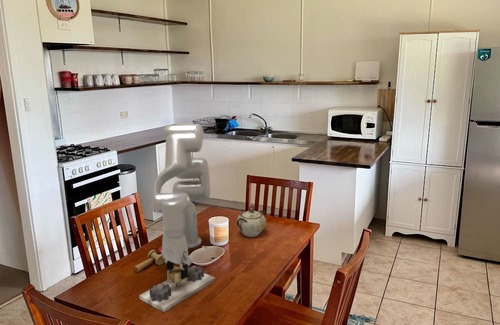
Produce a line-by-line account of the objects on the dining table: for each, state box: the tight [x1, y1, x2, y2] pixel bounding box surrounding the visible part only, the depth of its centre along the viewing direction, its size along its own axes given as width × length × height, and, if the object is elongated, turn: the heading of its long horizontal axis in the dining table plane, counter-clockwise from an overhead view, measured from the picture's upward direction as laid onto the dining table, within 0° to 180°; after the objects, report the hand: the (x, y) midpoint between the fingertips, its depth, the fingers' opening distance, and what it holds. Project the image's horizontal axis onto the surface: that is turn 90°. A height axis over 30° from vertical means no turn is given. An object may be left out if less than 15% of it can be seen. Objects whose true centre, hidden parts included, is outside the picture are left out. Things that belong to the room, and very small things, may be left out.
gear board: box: [138, 265, 216, 313], centre depth 152 cm, size 14×26×6 cm, turn 141°
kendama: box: [133, 246, 165, 273], centre depth 173 cm, size 8×6×18 cm
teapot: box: [236, 205, 267, 238], centre depth 201 cm, size 20×15×15 cm
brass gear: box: [166, 266, 187, 283], centre depth 151 cm, size 7×7×3 cm
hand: (177, 274), depth 152 cm, fingers closed on brass gear, 7 cm apart
